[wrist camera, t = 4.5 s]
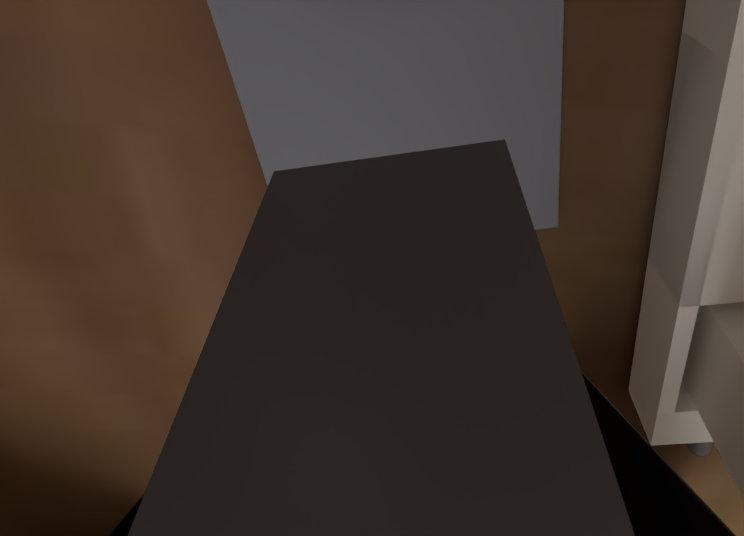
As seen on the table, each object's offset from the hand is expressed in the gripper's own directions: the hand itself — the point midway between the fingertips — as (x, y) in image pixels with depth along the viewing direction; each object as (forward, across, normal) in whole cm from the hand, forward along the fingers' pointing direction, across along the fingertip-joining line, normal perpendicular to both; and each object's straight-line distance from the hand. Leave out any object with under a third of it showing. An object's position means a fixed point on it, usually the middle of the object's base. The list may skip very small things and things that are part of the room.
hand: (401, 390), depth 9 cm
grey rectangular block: (+4, 0, 0) cm, 4 cm away
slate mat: (+12, 0, 0) cm, 12 cm away
